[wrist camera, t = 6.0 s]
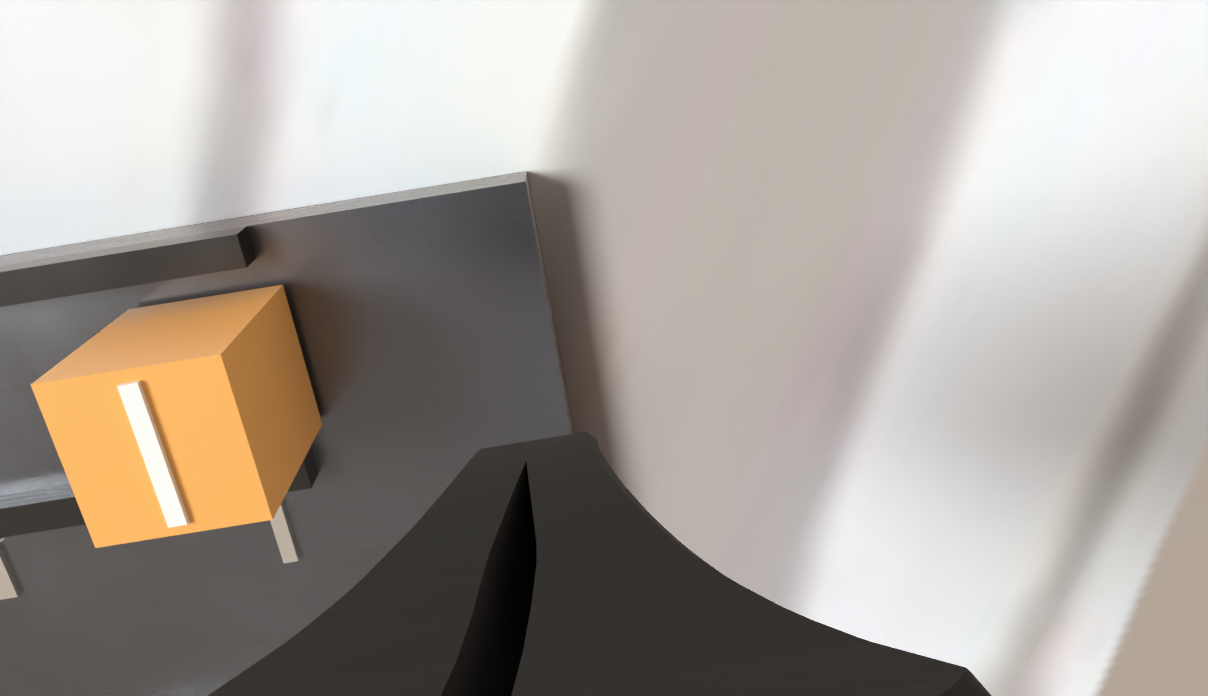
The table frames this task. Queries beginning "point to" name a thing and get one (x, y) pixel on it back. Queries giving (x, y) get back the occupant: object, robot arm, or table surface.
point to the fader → (183, 416)
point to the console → (336, 457)
